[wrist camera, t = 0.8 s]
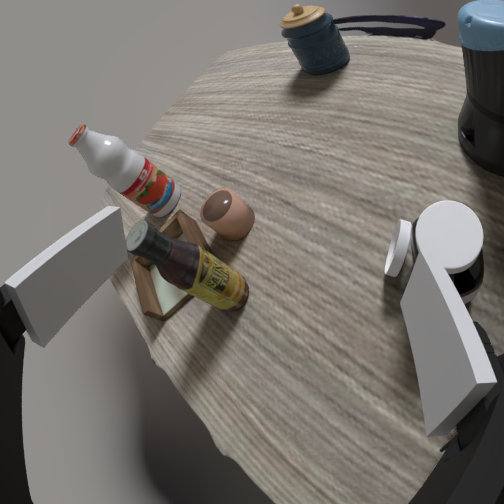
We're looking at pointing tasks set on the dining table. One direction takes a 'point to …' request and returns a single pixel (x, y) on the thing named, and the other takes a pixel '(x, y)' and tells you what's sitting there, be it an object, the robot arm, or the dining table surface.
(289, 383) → the dining table surface
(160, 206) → the fruit juice
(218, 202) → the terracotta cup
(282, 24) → the canister
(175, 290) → the wooden tray
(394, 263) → the spread jar
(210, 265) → the sauce bottle
